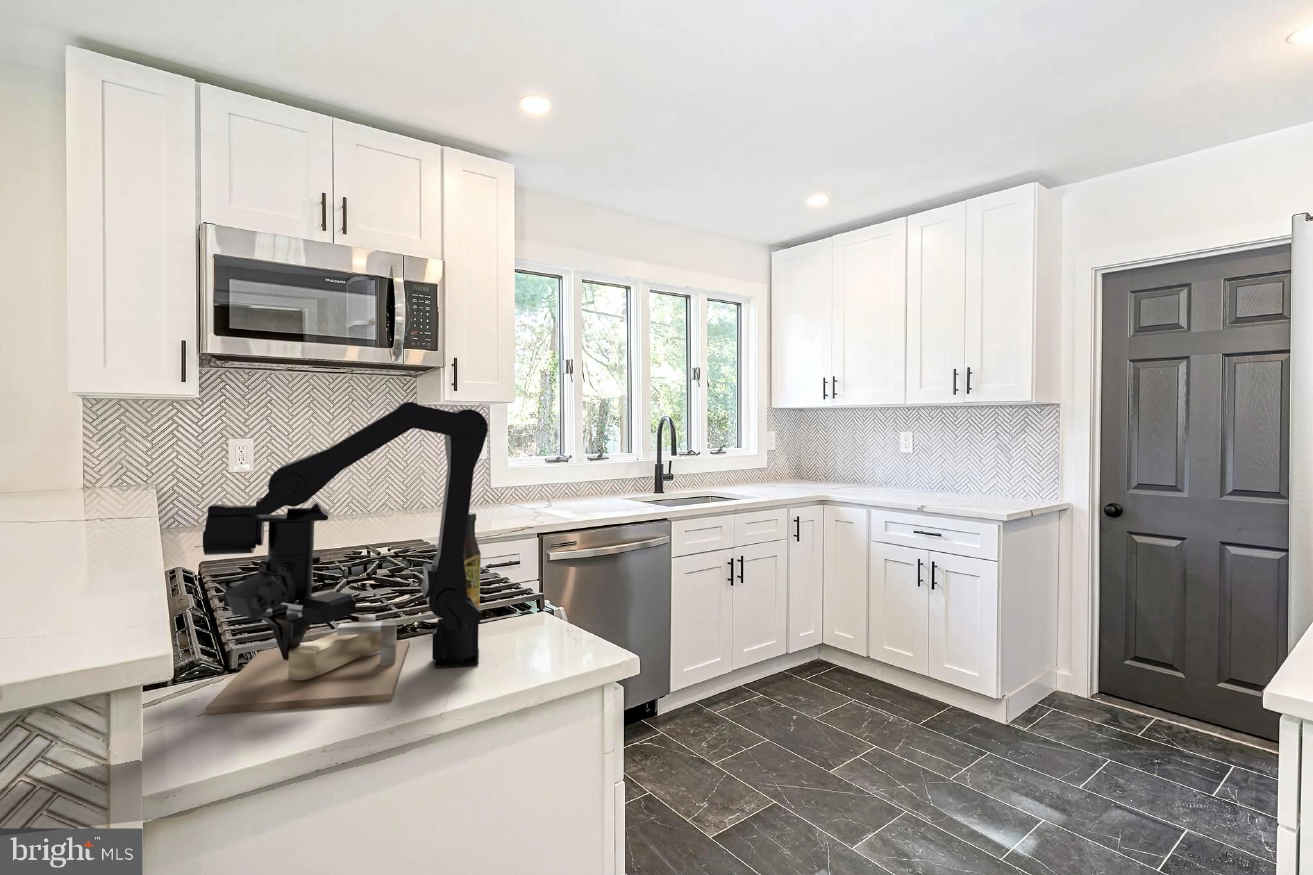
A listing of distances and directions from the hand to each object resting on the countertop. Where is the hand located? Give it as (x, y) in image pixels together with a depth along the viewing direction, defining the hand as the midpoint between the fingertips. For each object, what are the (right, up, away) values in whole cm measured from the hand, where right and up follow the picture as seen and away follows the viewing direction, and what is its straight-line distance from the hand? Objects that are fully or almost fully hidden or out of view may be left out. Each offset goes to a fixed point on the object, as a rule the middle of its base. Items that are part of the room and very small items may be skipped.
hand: (288, 659), depth 96 cm
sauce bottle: (+15, -3, +33) cm, 37 cm away
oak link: (+5, -2, +5) cm, 7 cm away
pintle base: (+4, -3, +2) cm, 5 cm away
